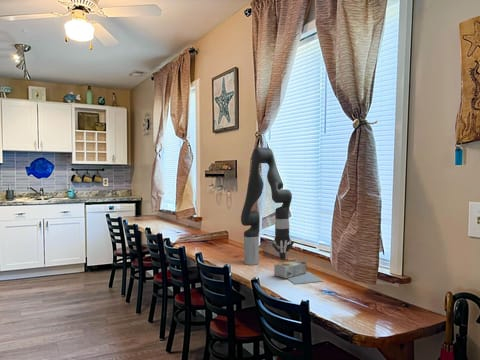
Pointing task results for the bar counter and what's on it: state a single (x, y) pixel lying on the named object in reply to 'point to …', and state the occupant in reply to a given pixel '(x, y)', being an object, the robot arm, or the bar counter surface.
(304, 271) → the coffee box
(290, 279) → the mat
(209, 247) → the bar counter surface
